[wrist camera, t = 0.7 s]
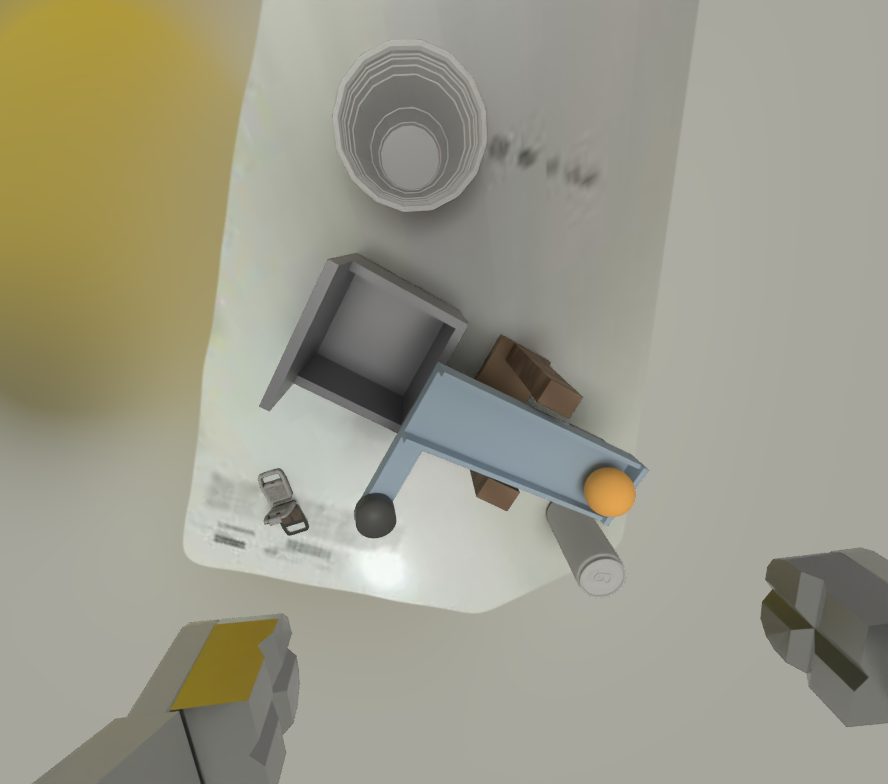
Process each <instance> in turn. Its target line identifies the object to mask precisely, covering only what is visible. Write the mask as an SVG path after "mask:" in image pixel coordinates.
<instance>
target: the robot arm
mask: <svg viewBox="0 0 888 784" xmlns="http://www.w3.org/2000/svg"><path fill="white" fill-rule="evenodd" d="M765 580H766V581H767V583H768V584H769V586H770V587H771V588H772V590H771V592H770V593H769V594H768V595H767V596H766V598H765V599H764V600H763V601H762V608H761V621H762V625H763V628H764V631H765V634H766V637H767V638H768V640H769V641H770V643H771V645H772V647H773V648H774V650H775V651H776V652H777V653H778V654H779V655H780V656H781V657H782V658H783V660H784V661H785V662H786V663H788V664H790V665H792V666H794V667H796V668H797V669H799V670H801V671H803V672H805V673H807V679H808V685H809V688H810V689H811V690H812V691H813V692H814V693H815V694H816V695H817V696H818V697H819V698H820V699H821V700H822V701H823V703H824V704H825V705H826V706H827V707H828V708H829V709H830V710H831V711H832V712H833V713H834V714H835V715H836V716H837V717H838V718H839V719H840V721H841V722H842V723H843V724H844V725H845V726H846V727H853V726H862V725H873V724H883V723H888V560H887V559H885V558H884V557H882V556H881V555H879V554H878V553H876V552H874V551H871V550H868V549H864V548H853V549H845V550H838V551H831V552H829V553H820V554H811V555H803V556H795V557H786V558H777V559H773V560H772V561H771V563H770V564H769V565H768V567H767V572H766V578H765ZM291 635H292V632H291V628H290V624H289V619H288V617H287V616H286V615H284V614H272V615H261V616H249V617H238V618H226V619H221V620H210V621H199V622H190V623H189V624H187V625H186V626H184V627H183V628H182V629H181V630H180V632H179V633H178V635H177V637H176V638H175V640H174V641H173V643H172V645H171V646H170V648H169V649H168V651H167V653H166V655H165V656H164V658H163V659H162V661H161V662H160V664H159V666H158V667H157V669H156V670H155V672H154V674H153V675H152V677H151V679H150V680H149V682H148V684H147V685H146V687H145V688H144V690H143V691H142V693H141V695H140V697H139V698H138V700H137V701H136V703H135V705H134V706H133V708H132V709H131V711H130V713H129V714H128V716H127V717H125V718H117V719H114V720H113V721H112V722H111V723H109V724H108V725H107V726H105V727H104V728H103V729H102V730H101V731H99V732H98V733H96V734H95V735H94V736H93V737H92V738H90V739H89V740H87V741H86V742H85V743H84V744H82V745H81V746H80V747H78V748H77V749H76V750H75V751H73V752H72V753H71V754H69V755H68V756H67V757H66V758H64V759H63V760H62V761H61V762H59V763H58V764H57V765H55V766H54V767H53V768H51V769H50V770H49V771H48V772H47V773H45V774H44V775H42V776H41V777H40V778H39V779H37V780H36V781H35V782H33V783H32V784H278V782H279V779H280V775H281V771H282V767H283V763H284V759H285V755H286V750H285V745H284V741H283V736H282V735H283V734H284V733H285V732H286V731H287V730H288V729H289V728H290V726H291V725H292V724H293V723H294V719H295V714H296V710H297V705H298V696H299V685H300V681H299V668H298V662H297V656H296V655H295V654H294V653H293V652H291V651H290V650H289V649H288V645H289V641H290V638H291Z"/></svg>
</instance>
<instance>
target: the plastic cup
mask: <svg viewBox="0 0 888 784" xmlns="http://www.w3.org/2000/svg"><path fill="white" fill-rule="evenodd" d="M332 118H333V126H334V134H335V142H336V150H337V152H338V154H339V156H340V158H341V160H342V162H343V164H344V166H345V168H346V170H347V172H348V174H349V176H350V177H351V179H352V181H353V182H355V183H356V184H357V185H358V186H359V187H360V188H361V189H362V190H363V191H364V192H365V193H367V194H368V195H369V196H370V197H371V198H372V199H373V200H374V201H375V202H378V203H381V204H383V205H386V206H389V207H392V208H394V209H397V210H400V211H402V212H411V211H427V210H434V209H436V208H438V207H440V206H441V205H443V204H445V203H447V202H449V201H451V200H453V199H455V198H457V197H458V196H459V195H460V194H461V193H462V191H463V190H464V189H465V188H466V186H467V185H468V184H469V183H470V182H471V180H472V179H473V178H474V177H475V175H476V174H477V172H478V169H479V166H480V163H481V160H482V157H483V154H484V151H485V148H486V145H487V128H486V109H485V106H484V104H483V101H482V99H481V96H480V94H479V91H478V89H477V86H476V84H475V81H474V79H473V77H472V76H471V75H470V74H469V73H468V72H467V71H466V69H465V68H464V67H463V66H462V65H461V64H460V63H459V62H458V61H457V60H456V59H455V57H454V56H453V55H452V54H451V53H449V52H447V51H445V50H443V49H441V48H438V47H436V46H434V45H432V44H430V43H427V42H425V41H423V40H421V39H419V40H388V41H386V42H384V43H382V44H380V45H379V46H377V47H375V48H373V49H371V50H369V51H367V52H365V53H363V54H362V55H360V56H359V58H358V59H357V60H356V62H355V63H354V64H353V66H352V67H351V68H350V70H349V71H348V72H347V74H346V75H345V76H344V78H343V79H342V80H341V82H340V86H339V90H338V94H337V98H336V102H335V106H334V110H333V114H332Z"/></svg>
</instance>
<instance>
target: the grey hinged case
mask: <svg viewBox="0 0 888 784" xmlns="http://www.w3.org/2000/svg"><path fill="white" fill-rule="evenodd" d="M273 474H279V476H280V479H276V480H273V481H270V482H267V483H264V481H263V478H264V477H267V476H270V475H273ZM258 481H259V485H260V488H261V490H262V491H263V493H264V495H265V497H266V498H267V500H268V502H269V503H273V505H274V504H277V503H280V502H284V501H287V500H290V499H291V497H292V494H293V491H292V489H291V486H290V484H289V481H288V479H287V476H286V475H285V473H284V472H283V470H281V469H280V468H278V469H273V470H270V471H267V472H264V473H262V474H260V475H259V477H258ZM301 522H304V523H305V526H306V527H305V528H302V529H299V530H296V531H293V532H289V531H288V529H287V528H286V527H288V526H291V525H294V524H298V523H301ZM278 523H280V524H281V526H282V528H283V530H284V531H285V533H286V534H287V535H289V536H290V535H294V534H297V533H300V532H303V531H307V530H308V529H309V524H308V521H307V519H306V517H305V515H304V513H303V511H302V510H301V508H300V506H299V505H298V504H296V502H295V501H292V502H289V503H286V504H282V505H279V506H276V507H274V508H272V509H271V511H270V512H269V513H268V514H267V515H266V516H265V518H264V524H270V526H272V525H275V524H278Z"/></svg>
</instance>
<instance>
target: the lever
mask: <svg viewBox="0 0 888 784" xmlns="http://www.w3.org/2000/svg"><path fill="white" fill-rule="evenodd" d="M422 451H424V452H427V453H430V454H432V455H435V456H437V457H440V458H442V459H445V460H447V461H450V462H452V463H455V464H457V465H460V466H463V467H465V468H468V469H470V470H473V471H475V472H478V473H480V474H483V475H485V476H488V477H491V478H493V479H496V480H498V481H501V482H503V483H506V484H508V485H511V486H513V487H516V488H518V489H521V490H524V491H526V492H529V493H531V494H534V495H536V496H539V497H541V498H544V499H546V500H549V501H552V502H554V503H557V504H559V505H562V506H564V507H567V508H569V509H572V510H574V511H577V512H579V513H582V514H585V515H587V516H590V517H592V518H595V519H597V520H600V521H601V522H602V523H603V524H605V525H607V526H609V524H610V523H611V522H612V520H613V519H614V518H615V517H606V516H602V515H600V514H598V513H596V512H595V511H593V510H592V509H591V508H590V506H589V505H588V503H587V502H586V499H585V496H584V485H585V482H586V480H587V478H588V477H589V475H590V474H591V473H592V472H594V471H595V470H597V469H600V468H605V467H611V468H616V469H619V470H621V471H622V472H624V473H625V474H627V475H628V476H629V478H630V479H631V480H632V482H633V484H634V487H635V489H636V487H637V486H638V485H639V483H640V482H641V481H642V480H643V478H644V477H645V476H646V474H647V473H648V472H649V470H648V469H647V468H646V467H645V466H644V465H643V464H642V463H641V462H639V461H638V460H637V459H636V458H635V457H634V456H633V455H631V454H629V453H627V452H625V451H623V450H621V449H619V448H617V447H615V446H613V445H610V444H608V443H606V442H605V441H604V440H603V439H601V438H599V437H597V436H595V435H593V434H591V433H589V432H586V431H584V430H582V429H580V428H578V427H576V426H574V425H572V424H570V425H569V424H567V423H565V422H563V421H560V420H558V419H556V418H554V417H552V416H550V415H548V414H546V413H544V412H542V411H540V410H538V409H535V408H533V407H531V406H529V405H527V404H525V403H523V402H521V401H519V400H517V399H515V398H512V397H510V396H508V395H506V394H504V393H502V392H500V391H498V390H496V389H494V388H492V387H490V386H487V385H485V384H483V383H481V382H479V381H477V380H475V379H473V378H471V377H469V376H467V375H465V374H462V373H460V372H458V371H456V370H454V369H452V368H450V367H448V366H446V365H444V364H442V363H440V362H438V363H437V365H436V367H435V368H434V370H433V372H432V374H431V376H430V377H429V379H428V381H427V383H426V384H425V386H424V388H423V390H422V392H421V393H420V395H419V397H418V399H417V400H416V402H415V404H414V406H413V408H412V409H411V411H410V413H409V415H408V416H407V418H406V420H405V422H404V424H403V425H402V427H401V429H400V430H399V432H398V433H397V435H396V437H395V439H394V440H393V442H392V444H391V446H390V448H389V449H388V451H387V453H386V455H385V456H384V458H383V460H382V462H381V464H380V465H379V467H378V469H377V471H376V472H375V474H374V476H373V478H372V480H371V481H370V483H369V485H368V487H367V488H366V490H365V492H364V494H363V496H362V497H361V499H360V500H359V501H358V503H357V504H356V507H355V510H354V520H355V521H356V527H357V530H358V531H359V533H361V534H362V535H363V536H365V537H368V538H380V537H383V536H385V535H387V534H389V533H390V532H391V531H392V530H393V528H394V527H395V524H396V514H395V509H394V504H393V500H394V498H395V497H396V495H397V493H398V492H399V490H400V488H401V486H402V485H403V483H404V481H405V480H406V478H407V476H408V475H409V473H410V471H411V469H412V468H413V466H414V464H415V463H416V461H417V459H418V457H419V456H420V454H421V452H422Z"/></svg>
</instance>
